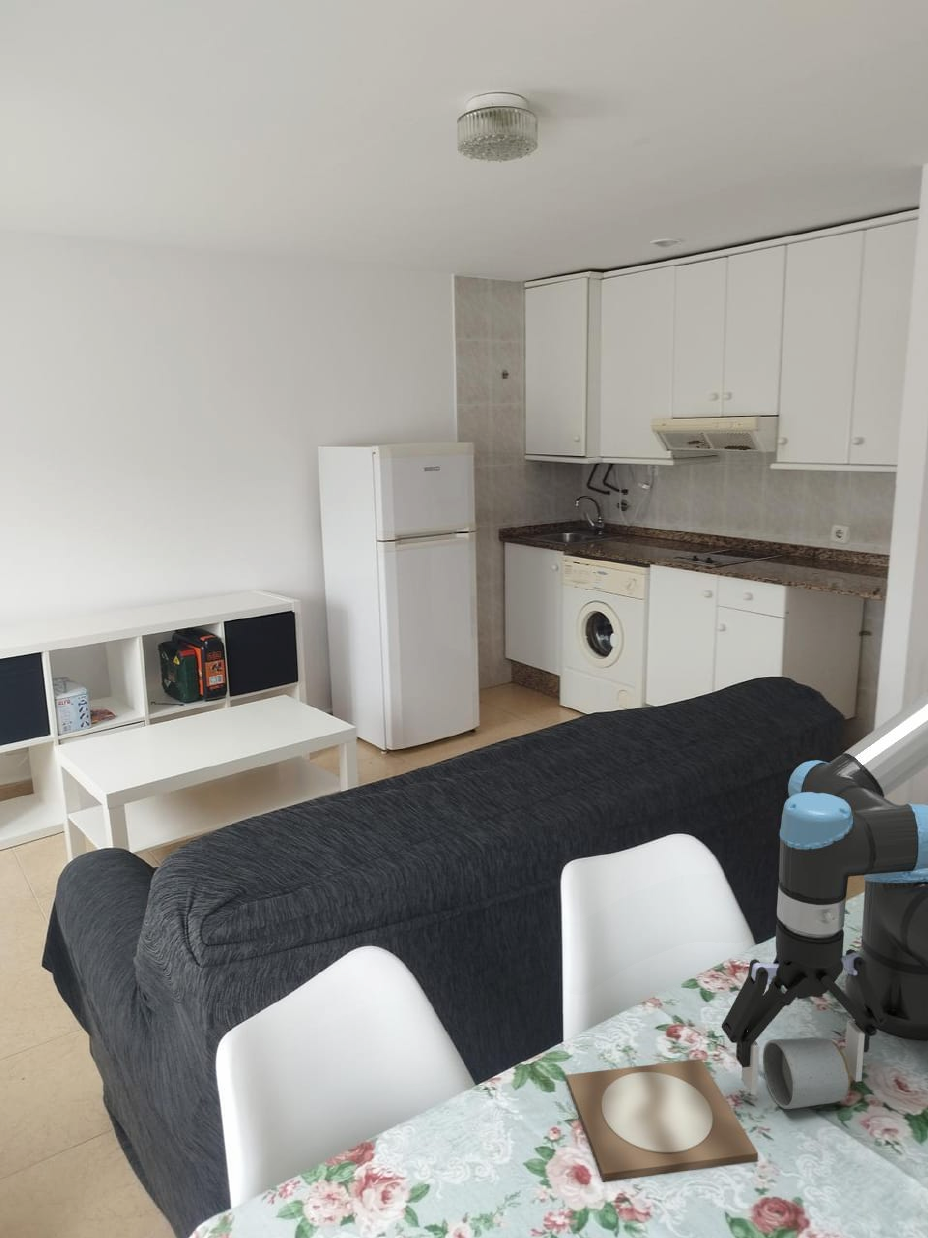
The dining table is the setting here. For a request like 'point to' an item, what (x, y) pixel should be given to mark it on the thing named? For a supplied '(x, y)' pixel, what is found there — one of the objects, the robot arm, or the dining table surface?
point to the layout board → (657, 1120)
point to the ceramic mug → (805, 1072)
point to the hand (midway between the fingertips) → (801, 1080)
